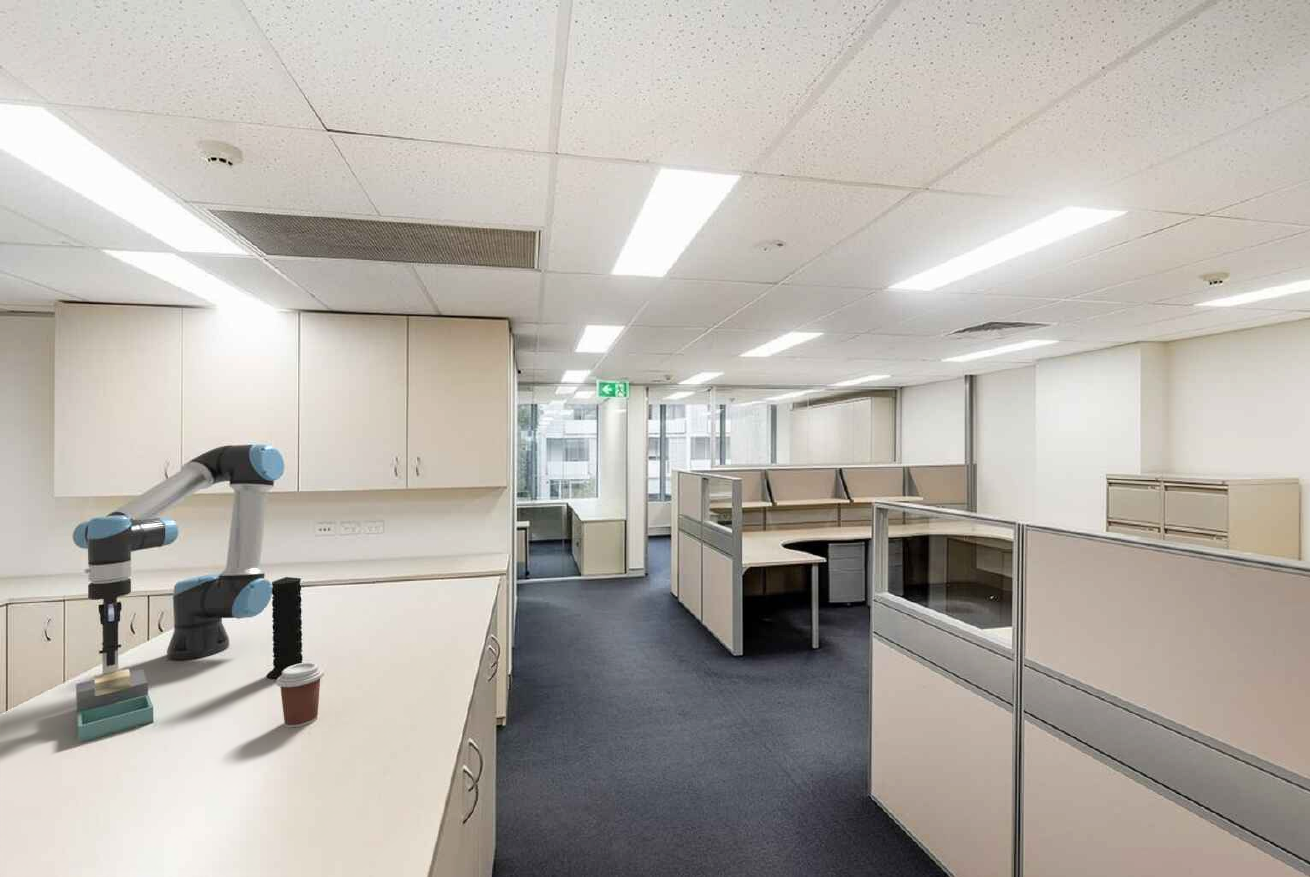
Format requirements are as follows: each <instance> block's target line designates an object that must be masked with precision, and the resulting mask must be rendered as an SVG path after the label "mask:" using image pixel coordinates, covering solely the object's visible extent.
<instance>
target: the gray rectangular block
mask: <svg viewBox="0 0 1310 877" xmlns="http://www.w3.org/2000/svg"><path fill="white" fill-rule="evenodd" d="M129 672H130V678H131V688H129V689H125V690H120V691H116V692H112V693H108V694H104V695H99V696H95V686H94V679H93V680H89V681H84V682H80V683H76V685H75V686H76V687H75V688H76V691H75V692H76V693H75V694H76V695H75V696H76V697H75V698H76V699H75V700H76V701H75V702H76V723H77V726H78V712H82V711H86V710H90V709H94V708H98V707H102V706H106V705H110V704H114V703H118V702H122V701H125V700H129V699H133V698H137V697H141V696H145V695H149V682H148V680H147V676H146V674H145V672H144V670H143V668H141V669H136V670H134V671H129Z"/></svg>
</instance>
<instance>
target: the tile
mask: <svg viewBox="0 0 1310 877" xmlns="http://www.w3.org/2000/svg"><path fill="white" fill-rule="evenodd" d="M130 672H131V671H130V669H129V668H127V669H122V670H118V671H117V672H112V673H108V674H103V673H102V674H99V675H95V676H94V677H93V680H94V686H95V696H99V695H104V694H108V693H112V692H116V691H120V690H125V689H129V688H131V678H130Z"/></svg>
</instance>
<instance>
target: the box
mask: <svg viewBox="0 0 1310 877" xmlns="http://www.w3.org/2000/svg"><path fill="white" fill-rule="evenodd" d="M152 723H153V724H154V705H153V702H152V700H151V698H150V695H149V694H148V695H145V696H141V697H137V698H133V699H129V700H125V701H122V702H118V703H114V704H110V705H106V706H102V707H98V708H94V709H90V710H86V711H82V712H78V725H77V739H78V744H81V743H85V742H88V741H92V740H95V738H96V739H99V738H98V737H100V738H102V737H106V735H107V736H109V734H110V735H113V734H112V733H114V734H116V733H115V732H117V733H120V732H124V731H128V730H131V728H132V729H135V728H137V727H136V726H139V727H142V726H145V725H149V724H152ZM134 727H135V728H134Z"/></svg>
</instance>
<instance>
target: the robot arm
mask: <svg viewBox="0 0 1310 877" xmlns="http://www.w3.org/2000/svg"><path fill="white" fill-rule="evenodd" d="M284 471H285V460H284V458H283V456H282V453H280V451H279V450H278V449H277V448H276V447H275V446H273V445H269V444H255V443H254V444H241V445H240V444H239V445H238V444H237V445H231V444H230V445H224V446H223V445H222V446H219V447H215V448H213V449H211V450H208V451H206V452H204V453H202V454H200V455H198V456H196V457H194V458H193V459H191V460H189V461H187V462H186V463H184V464H183V466H182V467H181V470H180V471H178V472H176V473H174V474H173V475H171V476H170V477H168V478H166V479H164V480H163V481H162V482H160V483H158V484H157V485H154V486H153V487H151V488H150V489H147V491H144V492H143V493H142V494H140V495H138V496H137V497H135V498H134V499H132V500H130V501H128V502H126V503H125V504H123V505H122V506H120V507H119V508H117V509H115V510H114V511H111V513H109V514H107V515H105V516H98V517H97V516H96V517H93V518H91V519H90V520H84V521H83V522H81V523H79V524H77V525H76V527H75V528H74V530H73V532H72V541H73V543H74V544H75V546H77V547H78V548H80V549H84V550H87V564H88V568H85V569H84V573H85V574H87V576H88V581H89V582H90V583H89V584H88V585H87V597H88V599H89V600H92V601H93V600H94V601H95V600H96V601H98V600H102V604H98V613H99V614H98V615H99V623H100V625H102V643H101V645H102V649H101V650H98V654H99V655H100V654H102V665H101V666H102V675H103V674H108V673H112V672H117V671H119V648H122V644H121V643H120V644H119V623H120V621H121V612H122V610H123V609H122V608H123V607H122V606H123V605H122V601H118V598H119V597H123V596H127V595H129V594H131V592H132V579H130V578H129V577H131V576H132V552H136V551H141V550H147V549H154V548H162V547H164V546H169V545H171V544H172V543H174V542H175V541H176V540H177V539H178V536H179V525H178V524H177V522H176V521H175V520H173V519H172V518H171V517H170V518H169V517H160V516H162V515H163V514H165V513H166V512H168V511H170V510H171V509H172V508H174V507H175V506H178V504H180V503H182V502H183V501H185V500H186V499H188V498H189V497H190V496H192V495H194V494H195V493H196V492H199V491H200V490H206V489H208V488H211V487H212V486H213V485H215V484H219V483H225V482H229V484H228V485H229V487H230V488H231V489H232V490H233V491H234V492H233V493H234V494H233V503H232V504H233V505H232V512H231V523H230V530H229V540H228V545H227V546H228V548H227V556H226V566H225V569H224V570H222V571H221V572H219V573H212V574H205V575H199V576H196V577H191V578H186V579H183V580H180V581H178V582H176V583H175V585H174V586H173V595H172V600H173V602H172V604H173V627H174V628H173V633H172V636H171V638H170V641H169V644H168V646H167V649H166V658H167V659H168V660H171V661H183V660H185V661H186V660H193V659H198V658H203V657H207V656H211V655H214V654H216V653H220V652H222V651H225V650H226V649H228V648H229V647H230V637H229V635H228V633H227V631H226V628H225V626H224V623H223V619H239V620H240V619H246V618H254V617H256V616H258V615H260V614H261V613H262V612H263V611H264V610H265V608H267V607H268V605H269V603H270V601H271V599H272V597H273V595H272V588H273V586H272V584H271V581H270V580H267V579H266V578H265V575H266V573H265V571H264V570H263V569H262V568H261V567H260V566H261V556H262V547H263V539H264V538H263V537H264V528H265V519H266V518H265V517H266V509H267V498H268V492H269V491H271V489H273V488H274V485H275V484H274V483H275V481H277V480H279V479H281V477H282V476H283V474H284V473H285V472H284Z"/></svg>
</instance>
